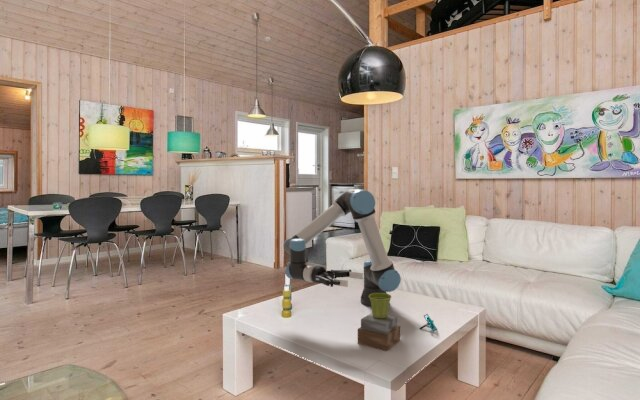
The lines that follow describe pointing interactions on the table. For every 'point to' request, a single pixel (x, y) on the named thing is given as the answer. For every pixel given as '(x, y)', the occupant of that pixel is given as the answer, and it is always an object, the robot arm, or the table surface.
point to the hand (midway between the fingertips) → (355, 279)
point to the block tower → (379, 332)
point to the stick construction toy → (429, 323)
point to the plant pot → (380, 304)
